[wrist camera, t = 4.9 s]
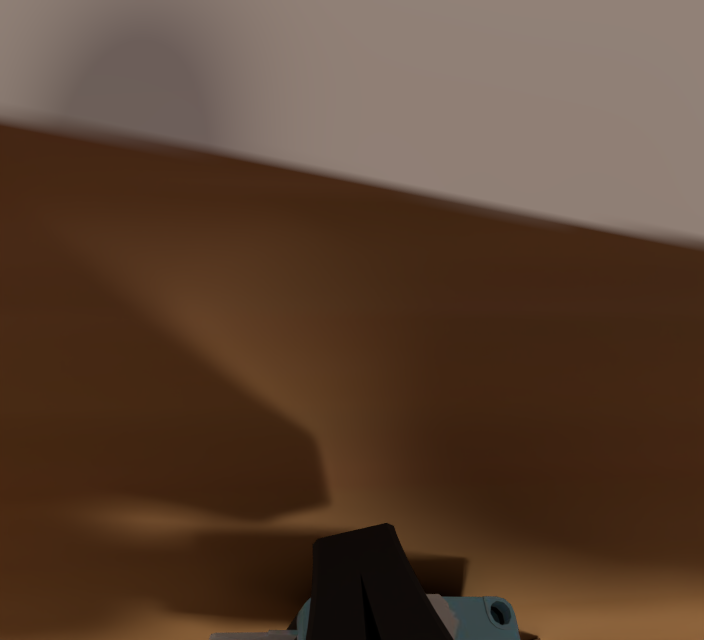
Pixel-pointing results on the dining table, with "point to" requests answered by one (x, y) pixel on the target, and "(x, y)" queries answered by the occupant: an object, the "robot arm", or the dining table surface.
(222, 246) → the dining table surface
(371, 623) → the robot arm
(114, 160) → the dining table surface
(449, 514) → the dining table surface
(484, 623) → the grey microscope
